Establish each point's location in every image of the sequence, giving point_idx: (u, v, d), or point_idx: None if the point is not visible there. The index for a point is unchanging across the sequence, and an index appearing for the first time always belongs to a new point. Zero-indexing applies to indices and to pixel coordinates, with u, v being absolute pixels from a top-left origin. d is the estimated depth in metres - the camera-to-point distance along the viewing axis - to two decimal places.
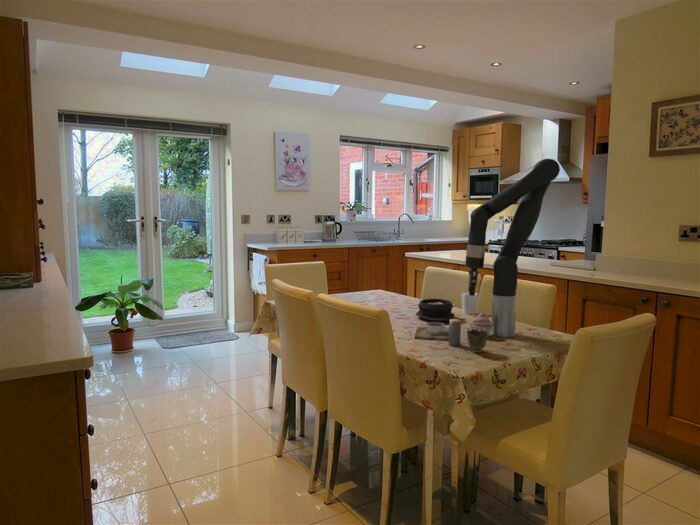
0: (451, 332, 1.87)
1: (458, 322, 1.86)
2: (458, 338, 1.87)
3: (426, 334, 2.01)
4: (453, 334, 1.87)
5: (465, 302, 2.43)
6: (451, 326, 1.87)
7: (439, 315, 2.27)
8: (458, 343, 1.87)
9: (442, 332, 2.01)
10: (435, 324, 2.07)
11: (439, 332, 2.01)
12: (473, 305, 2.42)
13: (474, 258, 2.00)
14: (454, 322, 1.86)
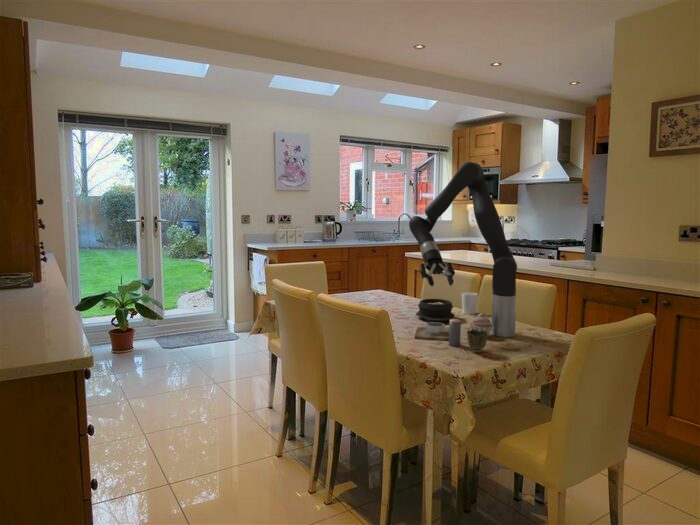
0: (451, 332, 1.87)
1: (458, 322, 1.86)
2: (458, 338, 1.87)
3: (426, 334, 2.01)
4: (453, 334, 1.87)
5: (465, 302, 2.43)
6: (451, 326, 1.87)
7: (439, 315, 2.27)
8: (458, 343, 1.87)
9: (442, 332, 2.01)
10: (435, 324, 2.07)
11: (439, 332, 2.01)
12: (473, 305, 2.42)
13: (423, 256, 2.06)
14: (454, 322, 1.86)
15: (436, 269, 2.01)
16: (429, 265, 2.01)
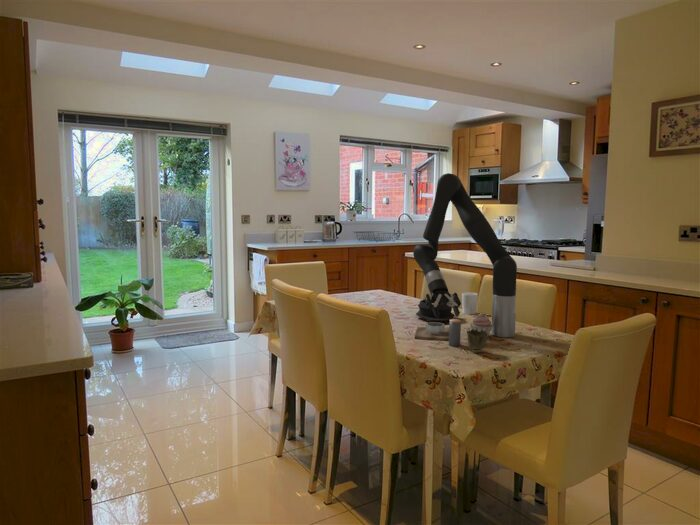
0: (451, 332, 1.87)
1: (458, 322, 1.86)
2: (458, 338, 1.87)
3: (426, 334, 2.01)
4: (453, 334, 1.87)
5: (465, 302, 2.43)
6: (451, 326, 1.87)
7: None
8: (458, 343, 1.87)
9: (442, 332, 2.01)
10: (435, 324, 2.07)
11: (439, 332, 2.01)
12: (473, 305, 2.42)
13: (428, 285, 2.02)
14: (454, 322, 1.86)
15: (442, 300, 1.97)
16: (434, 296, 1.97)
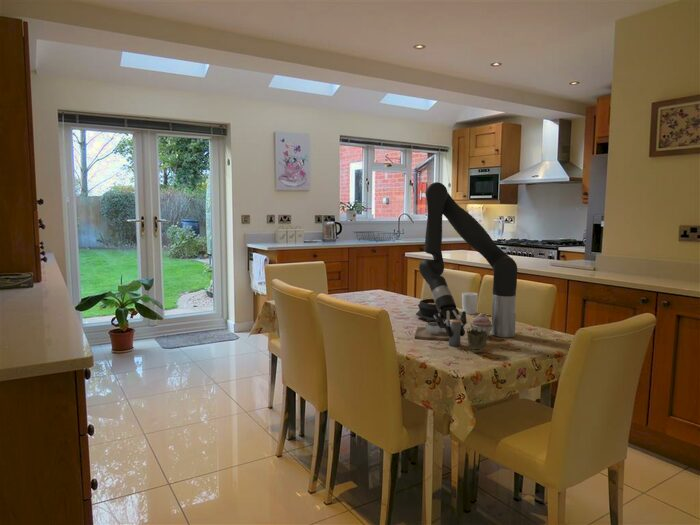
0: None
1: (458, 322, 1.86)
2: (458, 338, 1.87)
3: (426, 334, 2.01)
4: (453, 334, 1.87)
5: (465, 302, 2.43)
6: (451, 326, 1.87)
7: None
8: (458, 343, 1.87)
9: (442, 332, 2.01)
10: (435, 324, 2.07)
11: (439, 332, 2.01)
12: (473, 305, 2.42)
13: (435, 301, 1.96)
14: (454, 322, 1.86)
15: (450, 317, 1.91)
16: (442, 312, 1.91)
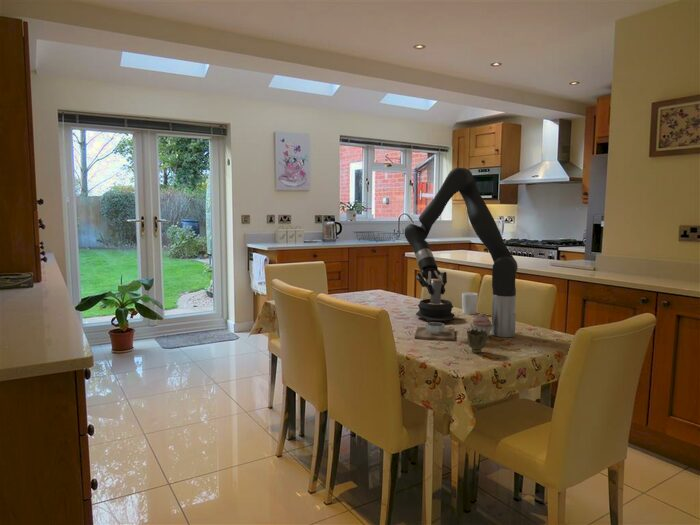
0: None
1: (439, 281, 2.00)
2: (438, 296, 2.00)
3: (426, 334, 2.01)
4: (434, 291, 2.00)
5: (465, 302, 2.43)
6: (432, 284, 2.01)
7: (439, 315, 2.27)
8: (439, 300, 2.01)
9: (442, 332, 2.01)
10: (435, 324, 2.07)
11: (439, 332, 2.01)
12: (473, 305, 2.42)
13: (418, 263, 2.09)
14: (435, 280, 2.00)
15: (431, 276, 2.04)
16: (424, 272, 2.05)
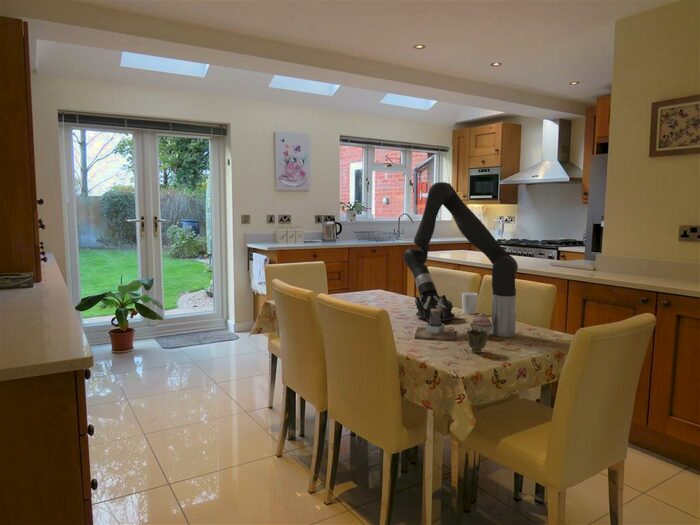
0: (432, 320, 2.02)
1: (438, 311, 2.01)
2: None
3: (426, 334, 2.01)
4: (433, 322, 2.02)
5: (465, 302, 2.43)
6: (431, 315, 2.02)
7: None
8: None
9: (442, 332, 2.01)
10: None
11: (439, 332, 2.01)
12: (473, 305, 2.42)
13: (418, 288, 2.11)
14: (434, 311, 2.01)
15: (431, 301, 2.06)
16: (424, 298, 2.06)
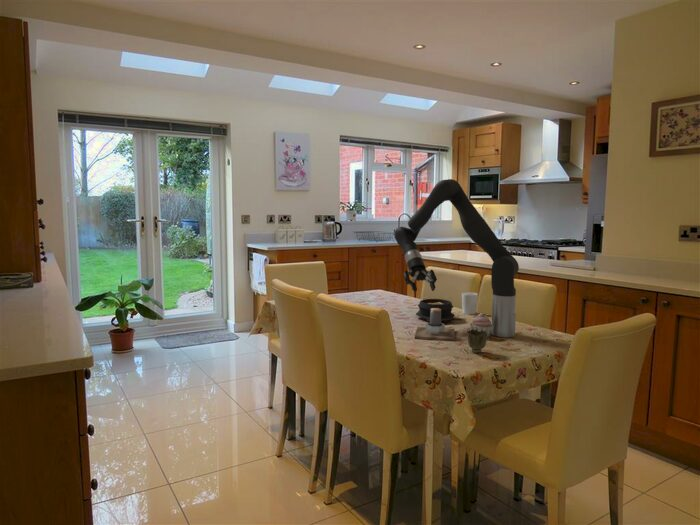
0: (432, 320, 2.02)
1: (438, 311, 2.01)
2: None
3: (426, 334, 2.01)
4: (433, 321, 2.02)
5: (465, 302, 2.43)
6: (432, 314, 2.02)
7: None
8: None
9: (442, 332, 2.01)
10: None
11: (439, 332, 2.01)
12: (473, 305, 2.42)
13: (407, 263, 2.21)
14: (435, 311, 2.01)
15: (419, 276, 2.16)
16: (413, 272, 2.17)
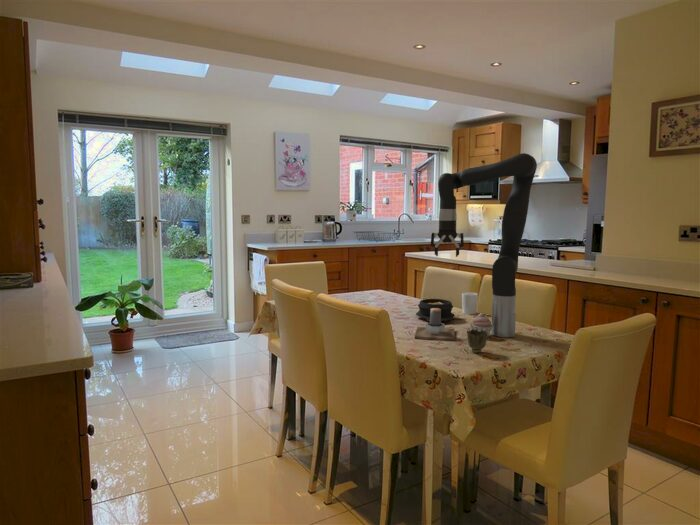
0: (432, 320, 2.02)
1: (438, 311, 2.01)
2: None
3: (426, 334, 2.01)
4: (433, 322, 2.02)
5: (465, 302, 2.43)
6: (432, 315, 2.02)
7: None
8: None
9: (442, 332, 2.01)
10: None
11: (439, 332, 2.01)
12: (473, 305, 2.42)
13: None
14: (435, 311, 2.01)
15: (445, 240, 2.12)
16: (439, 235, 2.12)
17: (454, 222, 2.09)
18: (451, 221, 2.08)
